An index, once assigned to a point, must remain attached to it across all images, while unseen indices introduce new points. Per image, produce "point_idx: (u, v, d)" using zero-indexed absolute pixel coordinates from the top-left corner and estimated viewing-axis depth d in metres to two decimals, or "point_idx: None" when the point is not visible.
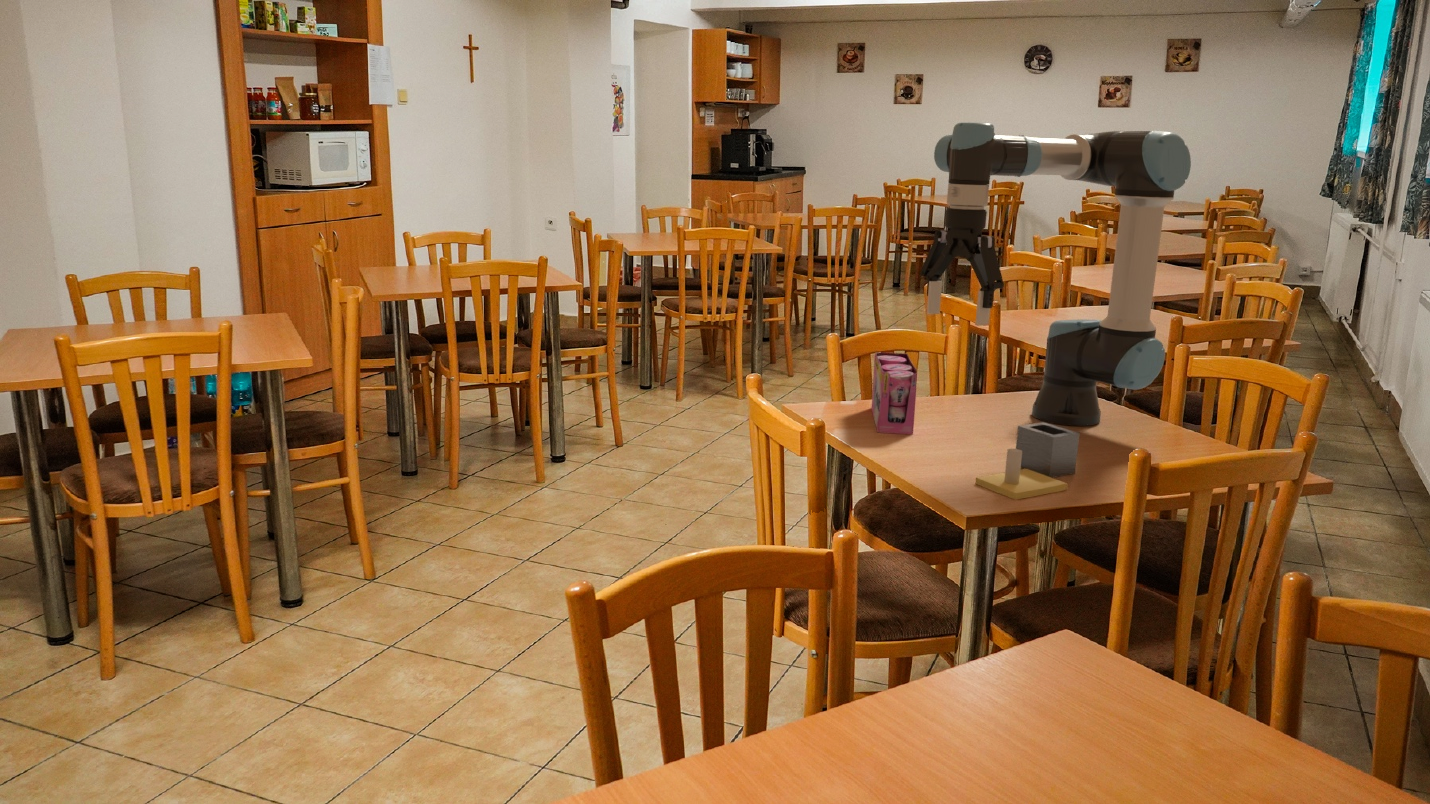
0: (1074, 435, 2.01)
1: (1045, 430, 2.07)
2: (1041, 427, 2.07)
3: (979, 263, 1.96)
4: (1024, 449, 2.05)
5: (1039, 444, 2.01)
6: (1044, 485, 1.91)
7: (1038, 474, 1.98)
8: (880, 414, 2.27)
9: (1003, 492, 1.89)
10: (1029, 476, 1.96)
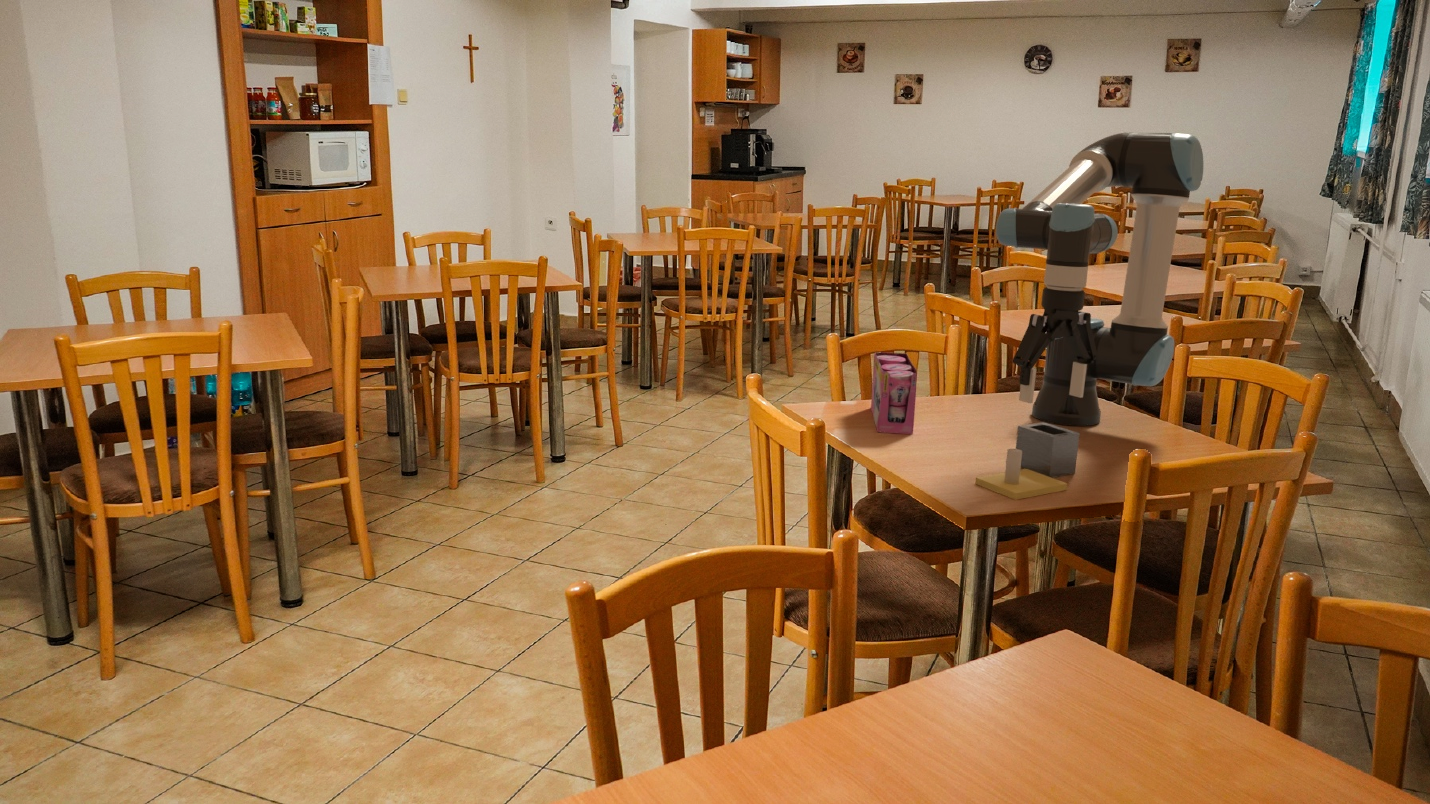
0: (1074, 435, 2.01)
1: (1045, 430, 2.07)
2: (1041, 427, 2.07)
3: (1037, 341, 1.97)
4: (1024, 449, 2.05)
5: (1039, 444, 2.01)
6: (1044, 485, 1.91)
7: (1038, 474, 1.98)
8: (880, 414, 2.27)
9: (1003, 492, 1.89)
10: (1029, 476, 1.96)
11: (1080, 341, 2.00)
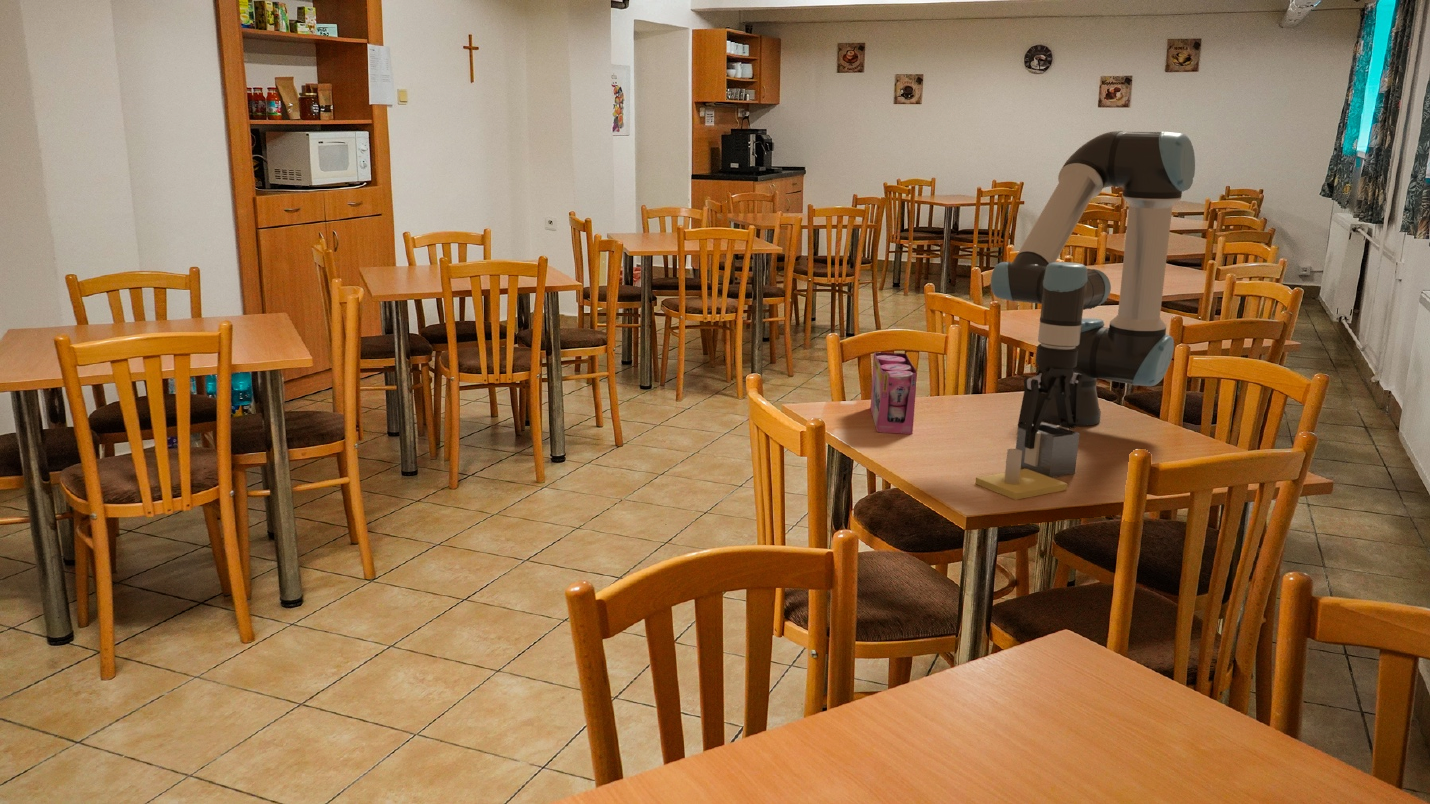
0: (1074, 435, 2.01)
1: (1045, 430, 2.07)
2: (1041, 427, 2.07)
3: (1036, 403, 2.00)
4: (1024, 449, 2.05)
5: None
6: (1044, 485, 1.91)
7: (1038, 474, 1.98)
8: (880, 414, 2.27)
9: (1003, 492, 1.89)
10: (1029, 476, 1.96)
11: (1068, 402, 2.03)
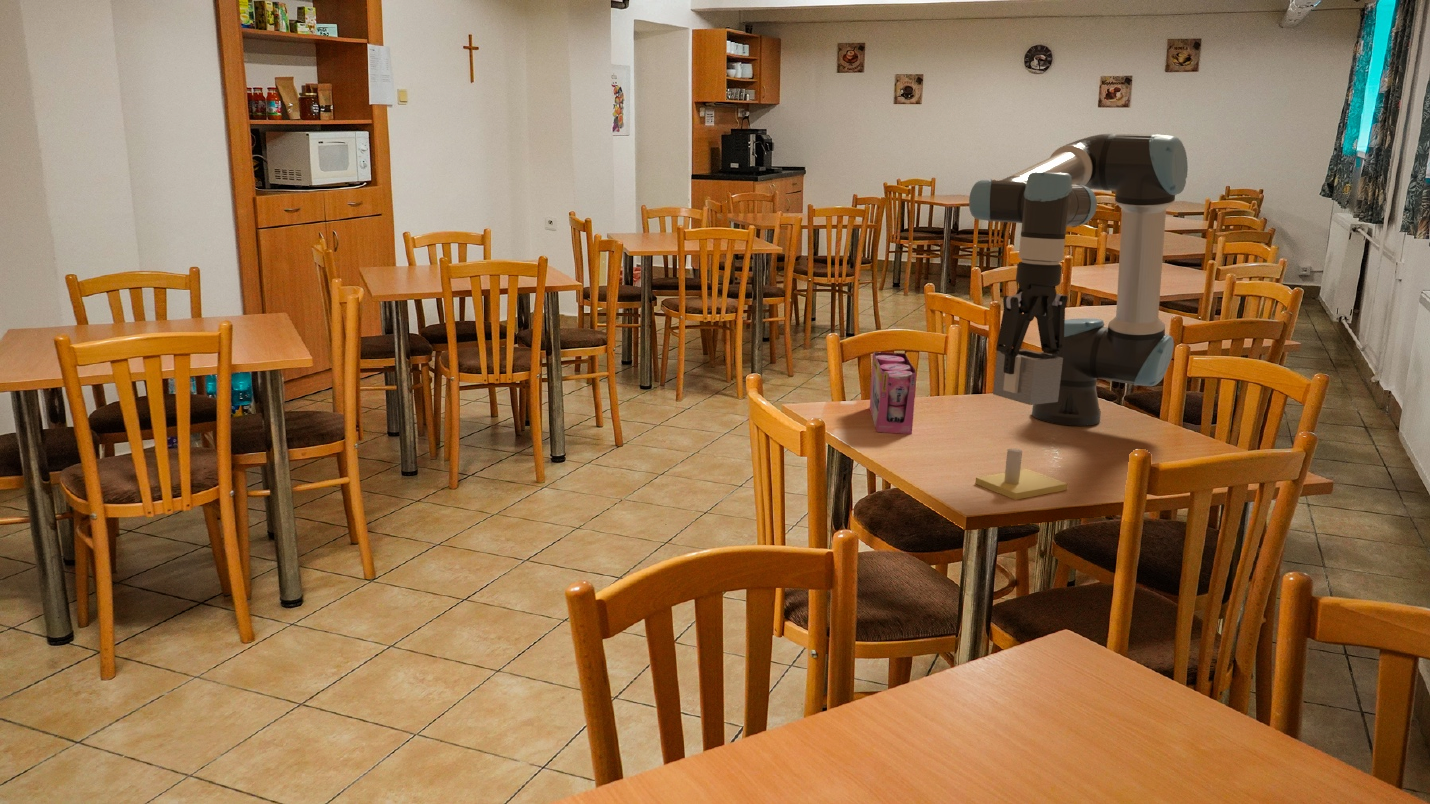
0: (1057, 359, 1.86)
1: (1026, 357, 1.92)
2: (1022, 353, 1.92)
3: (1017, 324, 1.86)
4: (1003, 376, 1.90)
5: None
6: (1044, 485, 1.91)
7: (1038, 474, 1.98)
8: (879, 414, 2.27)
9: (1003, 492, 1.89)
10: (1029, 476, 1.96)
11: (1051, 325, 1.88)
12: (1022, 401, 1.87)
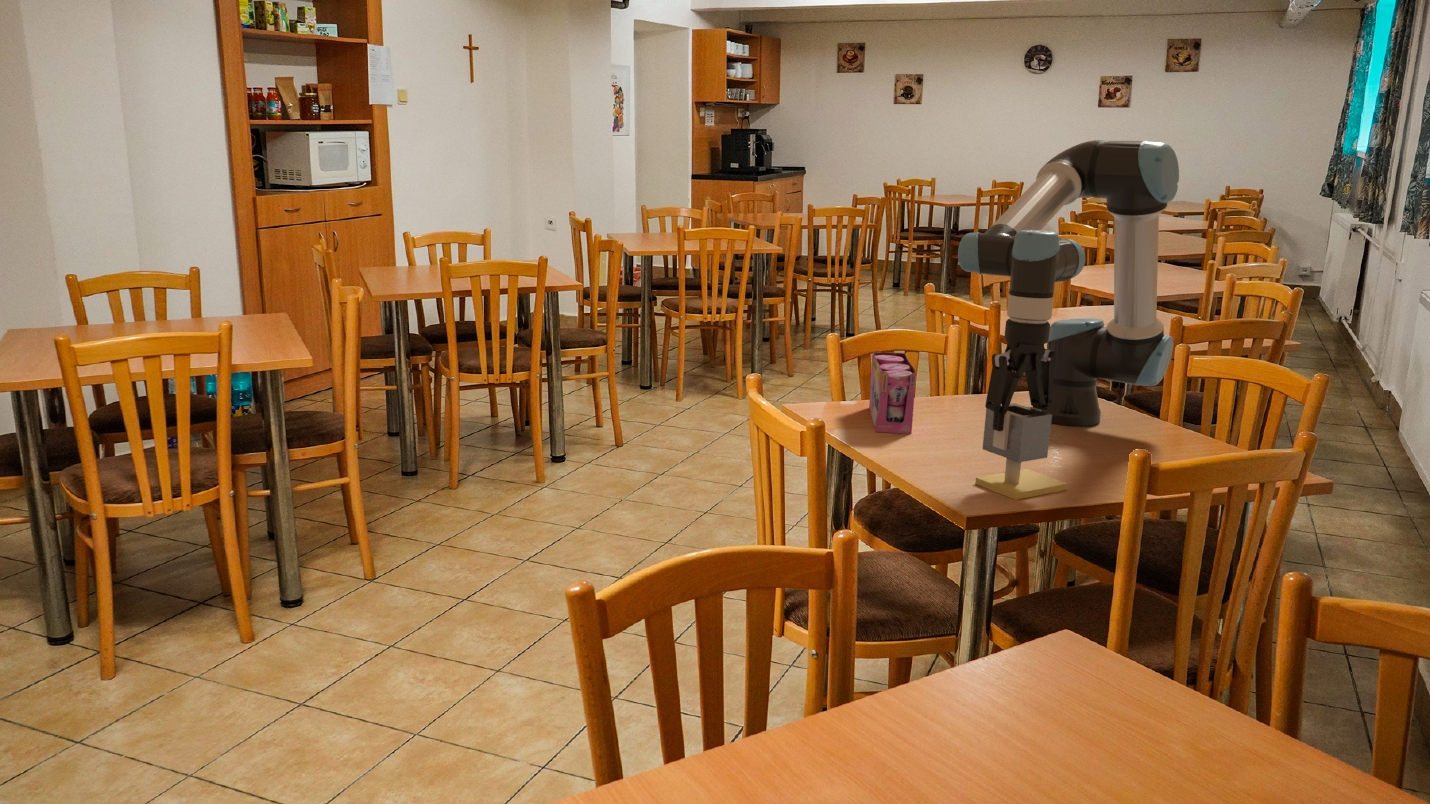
0: (1046, 416, 1.87)
1: (1016, 411, 1.93)
2: (1011, 408, 1.93)
3: (1005, 381, 1.86)
4: (992, 432, 1.90)
5: None
6: (1044, 485, 1.91)
7: (1038, 474, 1.98)
8: (879, 413, 2.27)
9: (1003, 492, 1.89)
10: (1029, 476, 1.96)
11: (1040, 381, 1.89)
12: (1011, 458, 1.87)
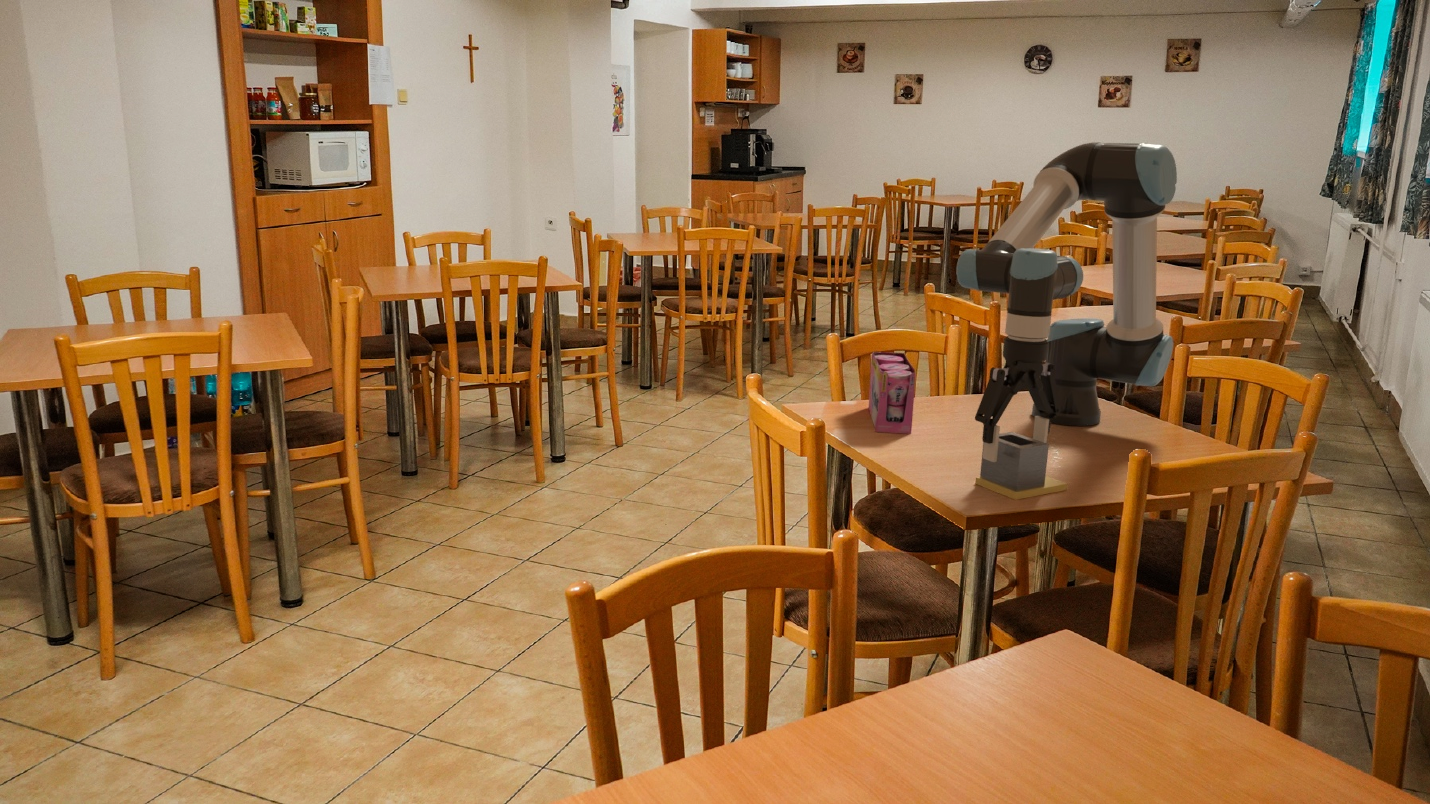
0: (1043, 446, 1.88)
1: (1013, 440, 1.94)
2: (1009, 437, 1.94)
3: (1000, 396, 1.86)
4: (990, 461, 1.92)
5: (1005, 455, 1.88)
6: (1044, 485, 1.91)
7: None
8: (878, 413, 2.27)
9: (1003, 492, 1.89)
10: None
11: (1043, 394, 1.90)
12: (1008, 487, 1.88)
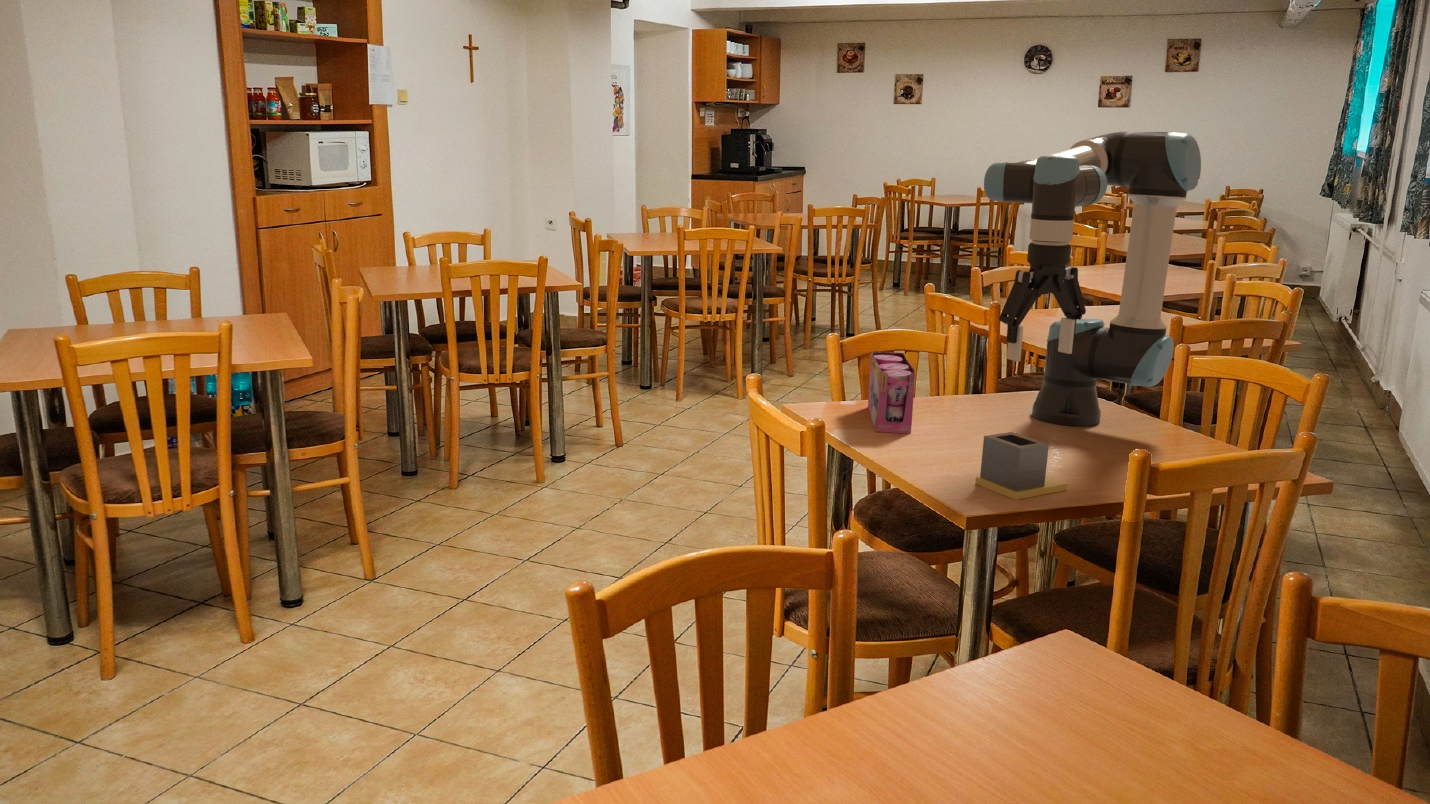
0: (1043, 446, 1.88)
1: (1013, 440, 1.94)
2: (1009, 437, 1.94)
3: (1024, 298, 1.93)
4: (990, 461, 1.92)
5: (1005, 455, 1.88)
6: (1044, 485, 1.91)
7: None
8: (878, 413, 2.27)
9: (1003, 492, 1.89)
10: None
11: (1067, 296, 1.97)
12: (1008, 487, 1.88)
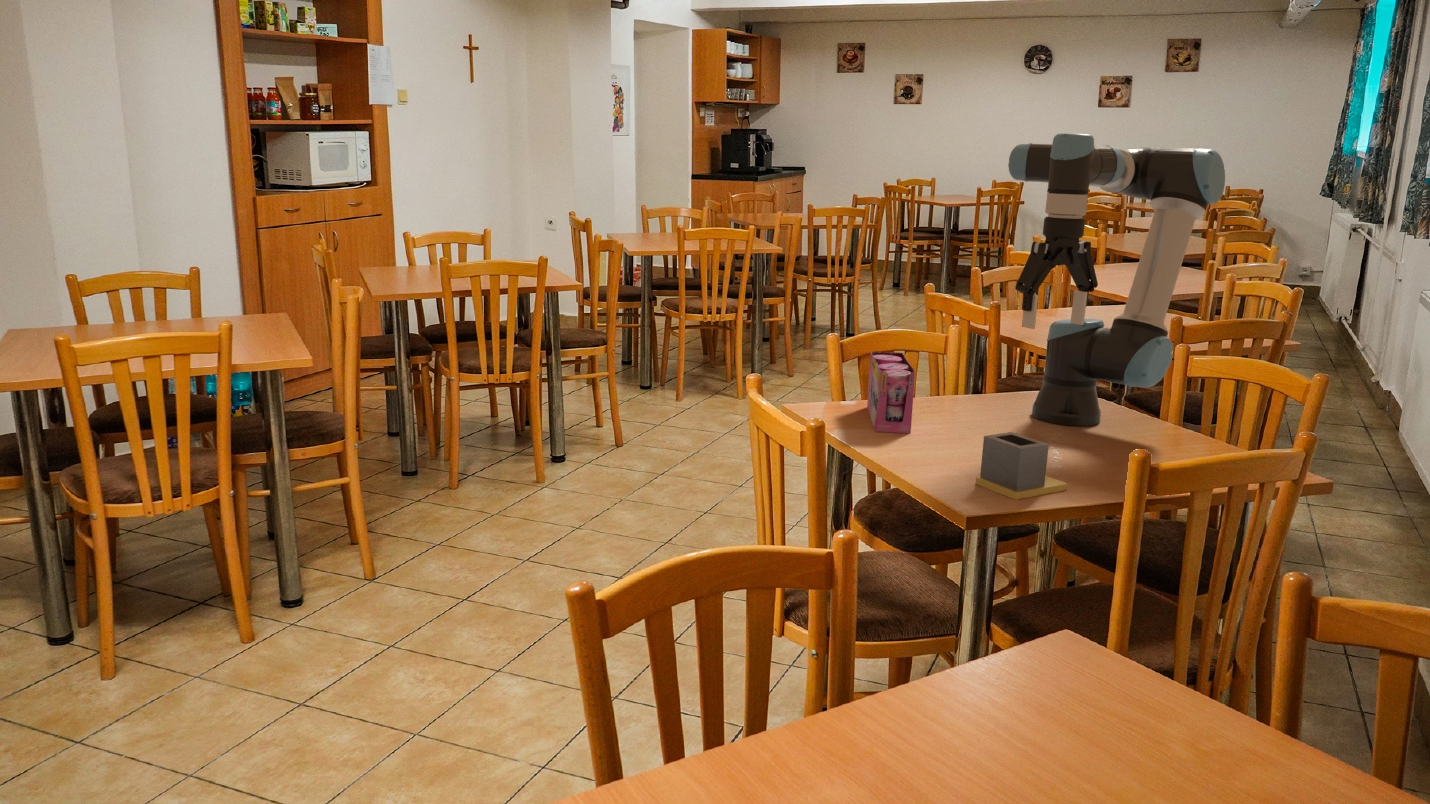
0: (1043, 446, 1.88)
1: (1013, 440, 1.94)
2: (1009, 437, 1.94)
3: (1039, 268, 2.03)
4: (990, 461, 1.92)
5: (1005, 455, 1.88)
6: (1044, 485, 1.91)
7: None
8: (878, 413, 2.27)
9: (1003, 492, 1.89)
10: None
11: (1081, 269, 2.06)
12: (1008, 487, 1.88)
